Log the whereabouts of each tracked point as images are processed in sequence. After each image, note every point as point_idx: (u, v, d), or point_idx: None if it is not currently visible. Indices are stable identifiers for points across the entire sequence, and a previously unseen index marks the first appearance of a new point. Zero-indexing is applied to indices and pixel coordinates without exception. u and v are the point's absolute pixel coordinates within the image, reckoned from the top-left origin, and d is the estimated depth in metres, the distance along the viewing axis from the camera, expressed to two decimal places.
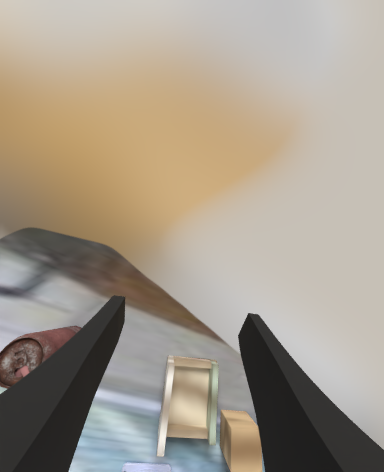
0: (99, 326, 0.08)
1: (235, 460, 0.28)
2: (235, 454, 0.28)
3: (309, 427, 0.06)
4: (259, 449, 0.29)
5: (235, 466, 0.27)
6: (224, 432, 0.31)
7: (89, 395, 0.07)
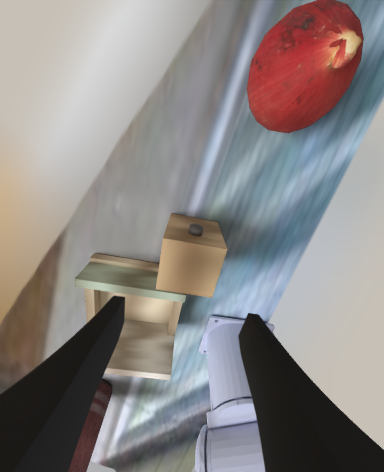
0: (99, 326, 0.08)
1: (198, 289, 0.15)
2: (190, 288, 0.15)
3: (309, 427, 0.06)
4: (192, 247, 0.14)
5: (206, 290, 0.16)
6: None
7: (89, 395, 0.07)
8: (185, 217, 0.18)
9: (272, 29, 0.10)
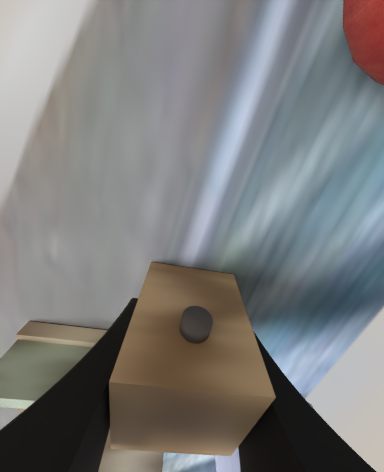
0: (124, 329, 0.08)
1: (203, 448, 0.07)
2: (186, 447, 0.07)
3: (278, 424, 0.05)
4: (187, 394, 0.05)
5: (219, 448, 0.07)
6: None
7: None
8: (176, 271, 0.10)
9: None
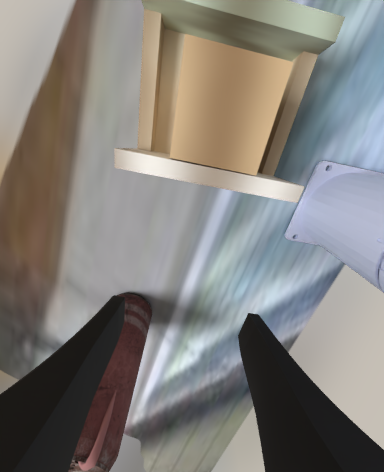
0: (99, 326, 0.08)
1: (237, 157, 0.10)
2: (224, 156, 0.10)
3: (309, 427, 0.06)
4: (234, 56, 0.08)
5: (248, 159, 0.10)
6: None
7: (89, 395, 0.07)
8: None
9: None
